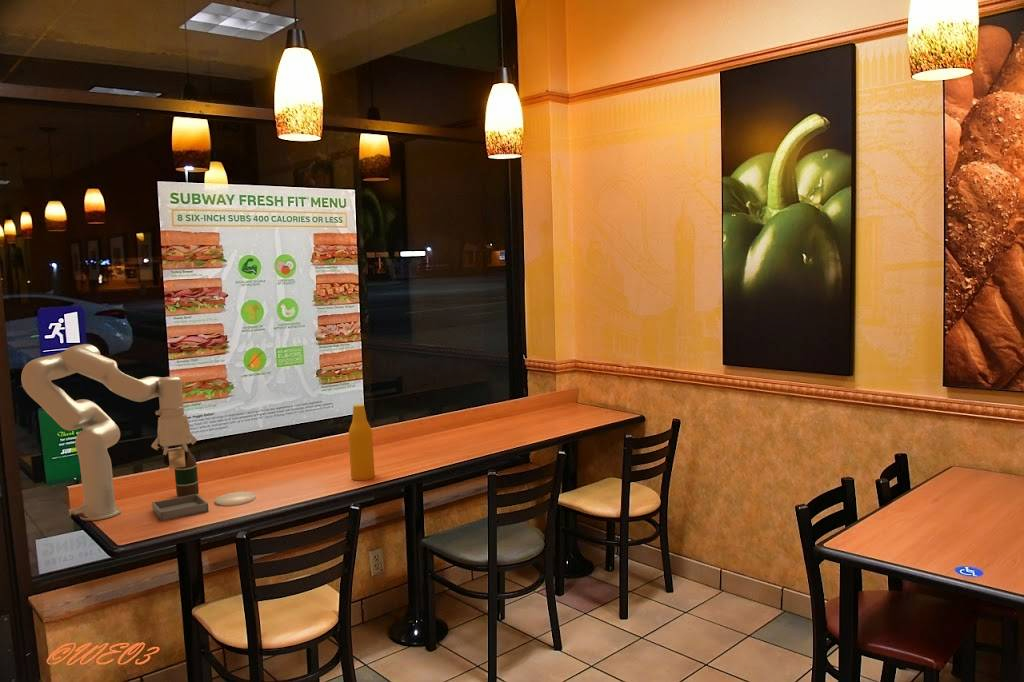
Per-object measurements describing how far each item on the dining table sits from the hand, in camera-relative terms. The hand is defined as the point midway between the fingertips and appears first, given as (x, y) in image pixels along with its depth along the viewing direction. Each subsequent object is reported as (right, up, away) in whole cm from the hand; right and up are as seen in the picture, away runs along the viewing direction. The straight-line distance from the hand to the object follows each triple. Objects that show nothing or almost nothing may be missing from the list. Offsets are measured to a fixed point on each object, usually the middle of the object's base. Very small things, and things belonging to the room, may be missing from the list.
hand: (176, 463), depth 269 cm
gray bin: (+1, -17, +2) cm, 17 cm away
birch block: (0, -1, 0) cm, 1 cm away
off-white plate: (+16, -15, +13) cm, 26 cm away
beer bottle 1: (-5, -16, +22) cm, 27 cm away
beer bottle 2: (+58, -12, +36) cm, 69 cm away
